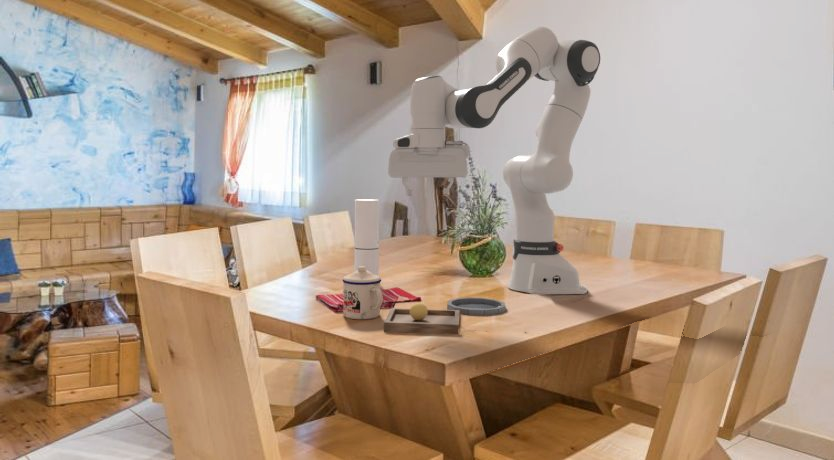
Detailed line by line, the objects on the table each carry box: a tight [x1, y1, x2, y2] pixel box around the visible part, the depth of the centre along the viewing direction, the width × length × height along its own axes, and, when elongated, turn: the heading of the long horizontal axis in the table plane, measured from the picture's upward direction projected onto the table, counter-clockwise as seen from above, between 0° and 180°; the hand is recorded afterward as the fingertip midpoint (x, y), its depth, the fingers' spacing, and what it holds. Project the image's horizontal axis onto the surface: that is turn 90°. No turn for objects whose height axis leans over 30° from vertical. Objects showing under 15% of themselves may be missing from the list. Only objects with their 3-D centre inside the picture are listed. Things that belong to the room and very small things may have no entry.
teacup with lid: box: [342, 266, 383, 320], centre depth 153 cm, size 12×9×12 cm
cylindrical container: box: [353, 198, 380, 276], centre depth 193 cm, size 7×7×25 cm
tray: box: [383, 307, 460, 335], centre depth 147 cm, size 16×14×2 cm
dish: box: [446, 296, 507, 316], centre depth 160 cm, size 14×14×2 cm
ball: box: [409, 302, 428, 321], centre depth 146 cm, size 4×4×4 cm
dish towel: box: [315, 286, 422, 313], centre depth 170 cm, size 17×24×3 cm
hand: (428, 195), depth 167 cm, fingers open, 8 cm apart
